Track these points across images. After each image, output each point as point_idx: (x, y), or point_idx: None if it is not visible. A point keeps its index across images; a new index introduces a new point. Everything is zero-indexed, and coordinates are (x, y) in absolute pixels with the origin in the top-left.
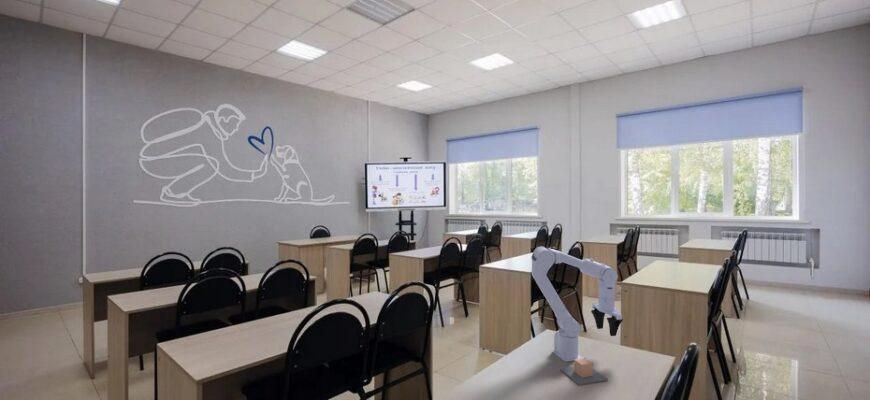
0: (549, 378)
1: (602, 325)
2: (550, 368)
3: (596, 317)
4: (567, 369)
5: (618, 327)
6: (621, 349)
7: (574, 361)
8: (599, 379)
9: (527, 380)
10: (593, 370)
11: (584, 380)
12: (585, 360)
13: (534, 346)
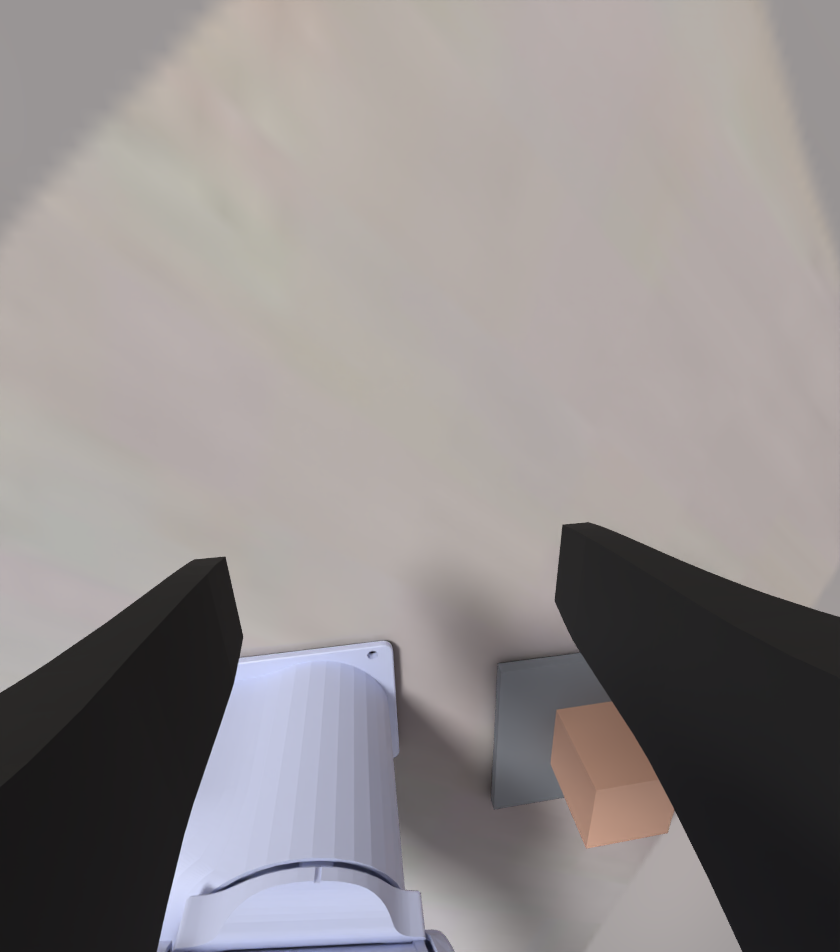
0: (539, 850)
1: (204, 596)
2: (447, 827)
3: (152, 946)
4: (516, 784)
5: (746, 590)
6: (242, 150)
7: (582, 832)
8: None
9: (521, 916)
10: (581, 669)
11: None
12: (631, 800)
13: None
